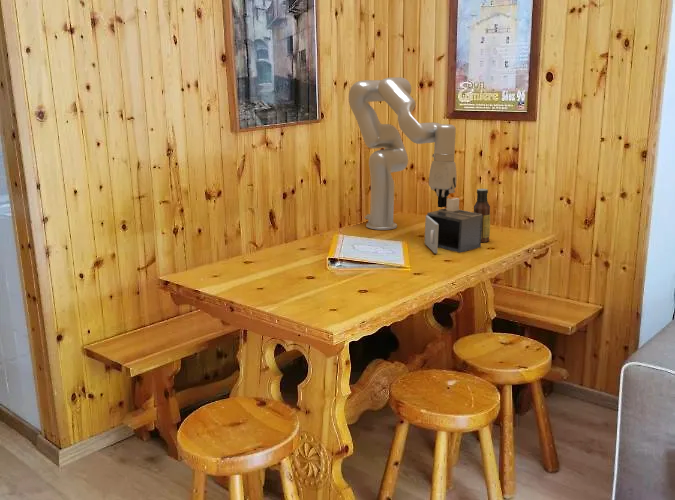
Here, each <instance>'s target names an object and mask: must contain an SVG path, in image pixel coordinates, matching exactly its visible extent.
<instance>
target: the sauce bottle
mask: <svg viewBox="0 0 675 500" xmlns="http://www.w3.org/2000/svg"><path fill="white" fill-rule="evenodd" d="M488 193H489V190H488V189H486V188H478V189H477V190H476V194H477V195H476V202H475V204H474V205H473V212H474V213H479V214H482V215H483V218H482V234H481V243H487V242H489V241H490V236H491V235H490V233H491V205H490V204H489V202H488Z"/></svg>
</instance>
